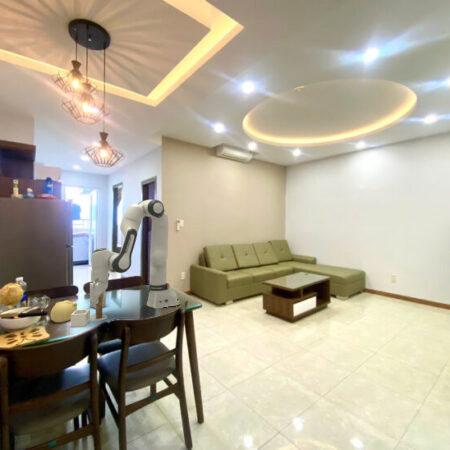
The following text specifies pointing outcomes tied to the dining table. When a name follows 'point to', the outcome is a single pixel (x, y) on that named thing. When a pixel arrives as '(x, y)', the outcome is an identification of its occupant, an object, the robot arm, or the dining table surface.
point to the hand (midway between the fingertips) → (99, 300)
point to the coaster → (98, 319)
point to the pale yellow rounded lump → (63, 311)
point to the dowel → (99, 307)
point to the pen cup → (80, 318)
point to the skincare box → (92, 302)
